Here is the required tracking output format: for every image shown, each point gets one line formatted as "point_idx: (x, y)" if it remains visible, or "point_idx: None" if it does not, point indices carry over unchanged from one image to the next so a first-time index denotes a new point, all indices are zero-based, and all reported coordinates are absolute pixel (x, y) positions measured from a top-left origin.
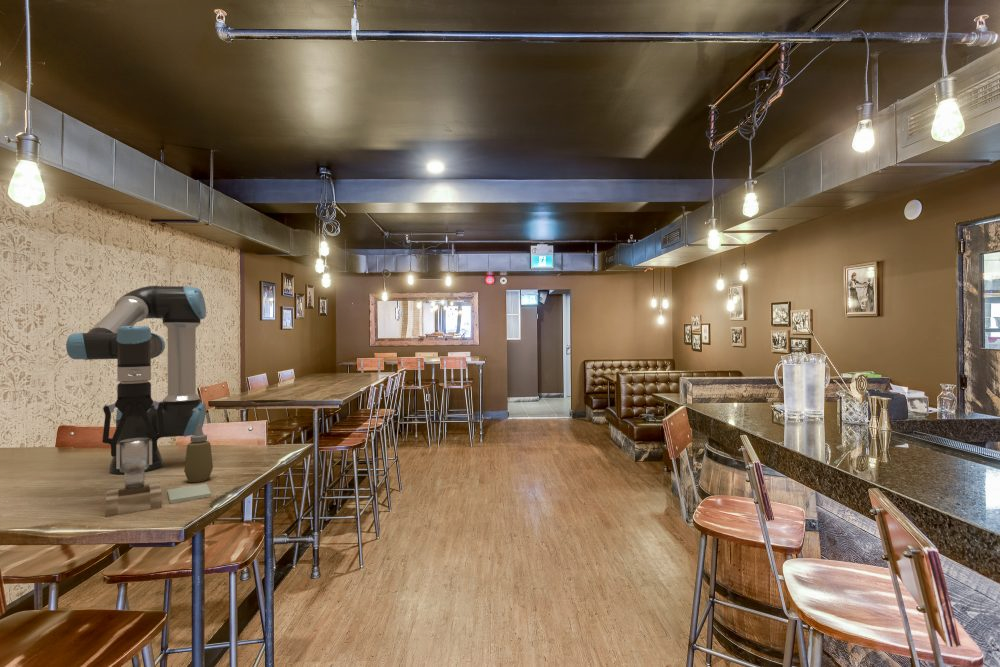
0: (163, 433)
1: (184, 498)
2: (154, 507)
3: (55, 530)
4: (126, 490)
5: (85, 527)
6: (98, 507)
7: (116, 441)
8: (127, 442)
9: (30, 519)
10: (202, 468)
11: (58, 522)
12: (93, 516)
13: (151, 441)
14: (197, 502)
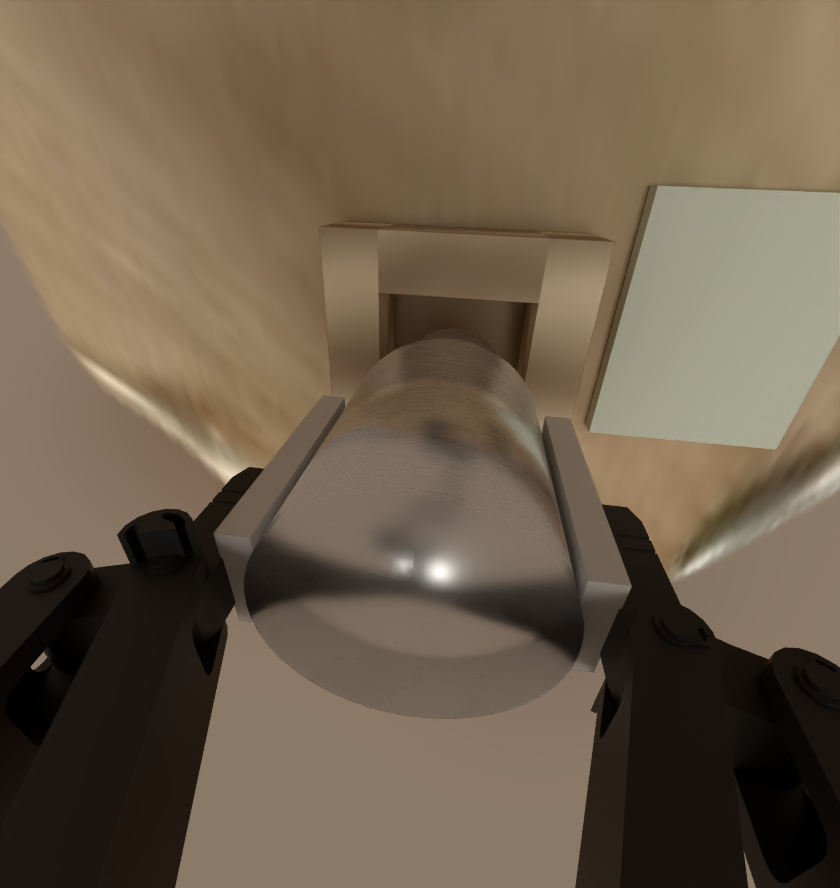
0: (781, 791)
1: (650, 436)
2: None
3: (232, 471)
4: (419, 292)
5: None
6: (313, 256)
7: (218, 653)
8: (337, 690)
9: (86, 263)
10: None
11: (212, 388)
12: (315, 395)
13: (585, 666)
14: (676, 479)
